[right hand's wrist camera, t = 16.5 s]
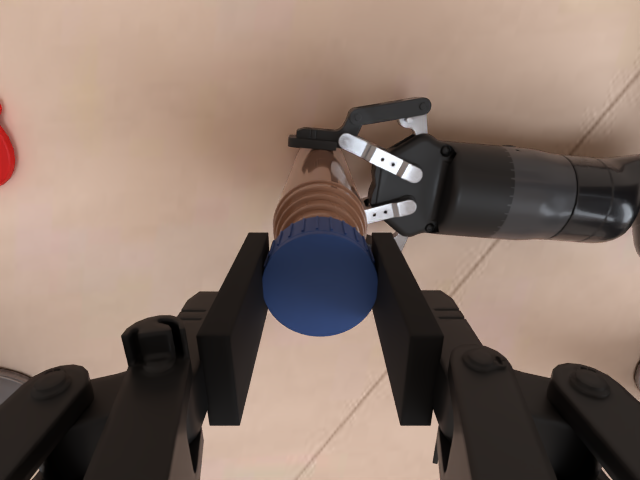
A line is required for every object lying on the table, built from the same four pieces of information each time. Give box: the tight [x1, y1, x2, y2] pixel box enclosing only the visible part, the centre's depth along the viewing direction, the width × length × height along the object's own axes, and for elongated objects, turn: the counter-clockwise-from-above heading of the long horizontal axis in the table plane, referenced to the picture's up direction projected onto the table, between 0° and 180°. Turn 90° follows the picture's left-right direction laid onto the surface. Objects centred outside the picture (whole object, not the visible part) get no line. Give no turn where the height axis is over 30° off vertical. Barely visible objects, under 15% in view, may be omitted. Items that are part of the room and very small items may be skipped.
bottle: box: [273, 148, 367, 240], centre depth 25 cm, size 5×5×24 cm
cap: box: [262, 216, 378, 336], centre depth 14 cm, size 4×4×2 cm
